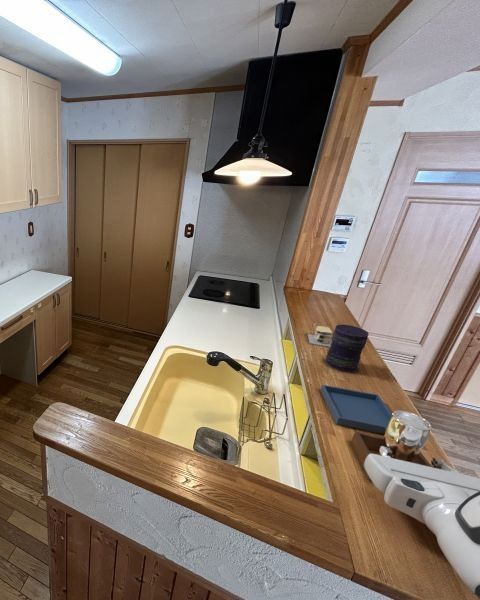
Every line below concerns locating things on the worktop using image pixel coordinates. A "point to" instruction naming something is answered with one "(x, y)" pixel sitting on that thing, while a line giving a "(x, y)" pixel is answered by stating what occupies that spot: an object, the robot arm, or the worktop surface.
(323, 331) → the stacked layers on plate
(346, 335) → the navy layered cylinder
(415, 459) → the wooden square box
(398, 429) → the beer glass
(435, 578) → the worktop surface
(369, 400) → the tray
